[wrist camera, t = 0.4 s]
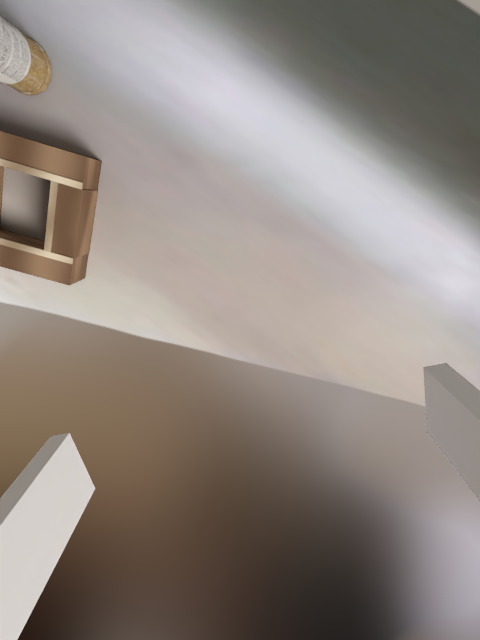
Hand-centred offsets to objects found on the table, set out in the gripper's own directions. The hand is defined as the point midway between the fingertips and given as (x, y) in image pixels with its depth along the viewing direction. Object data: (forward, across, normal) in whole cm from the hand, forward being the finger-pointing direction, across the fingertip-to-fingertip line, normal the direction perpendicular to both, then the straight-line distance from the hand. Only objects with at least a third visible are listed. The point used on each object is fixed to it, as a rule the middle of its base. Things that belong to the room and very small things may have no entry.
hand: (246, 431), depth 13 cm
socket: (+26, -20, +12) cm, 35 cm away
